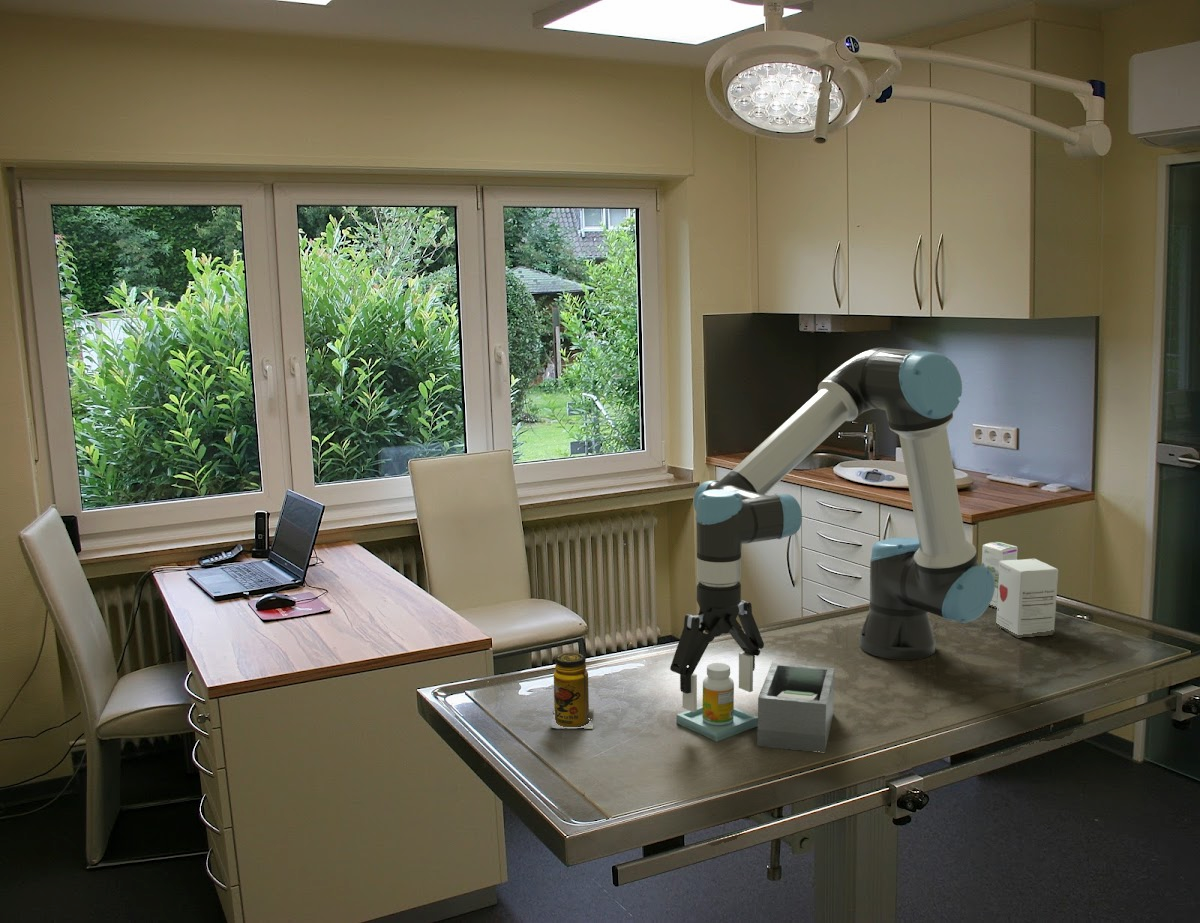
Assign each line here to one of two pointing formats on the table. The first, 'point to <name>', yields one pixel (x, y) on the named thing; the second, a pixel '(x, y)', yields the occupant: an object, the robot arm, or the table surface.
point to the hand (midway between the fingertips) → (718, 699)
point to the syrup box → (997, 561)
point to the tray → (717, 733)
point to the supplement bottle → (718, 695)
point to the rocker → (798, 695)
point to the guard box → (796, 708)
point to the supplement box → (1026, 596)
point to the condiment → (571, 691)
